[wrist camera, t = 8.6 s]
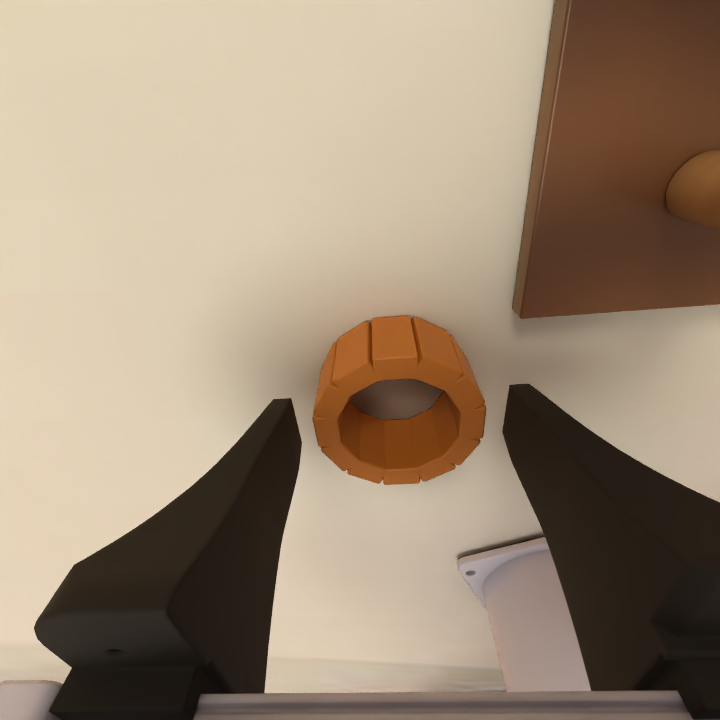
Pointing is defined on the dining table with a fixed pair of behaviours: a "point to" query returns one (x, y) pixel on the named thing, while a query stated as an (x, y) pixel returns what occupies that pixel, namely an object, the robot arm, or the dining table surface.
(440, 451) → the amber tape
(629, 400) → the dining table surface
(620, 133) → the rack
